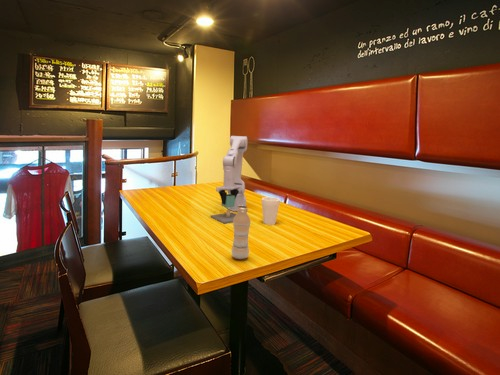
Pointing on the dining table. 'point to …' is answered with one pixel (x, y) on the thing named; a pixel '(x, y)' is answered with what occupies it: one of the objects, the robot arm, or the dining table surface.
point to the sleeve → (229, 201)
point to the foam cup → (270, 209)
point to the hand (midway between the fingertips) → (228, 203)
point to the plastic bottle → (241, 233)
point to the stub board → (224, 217)
